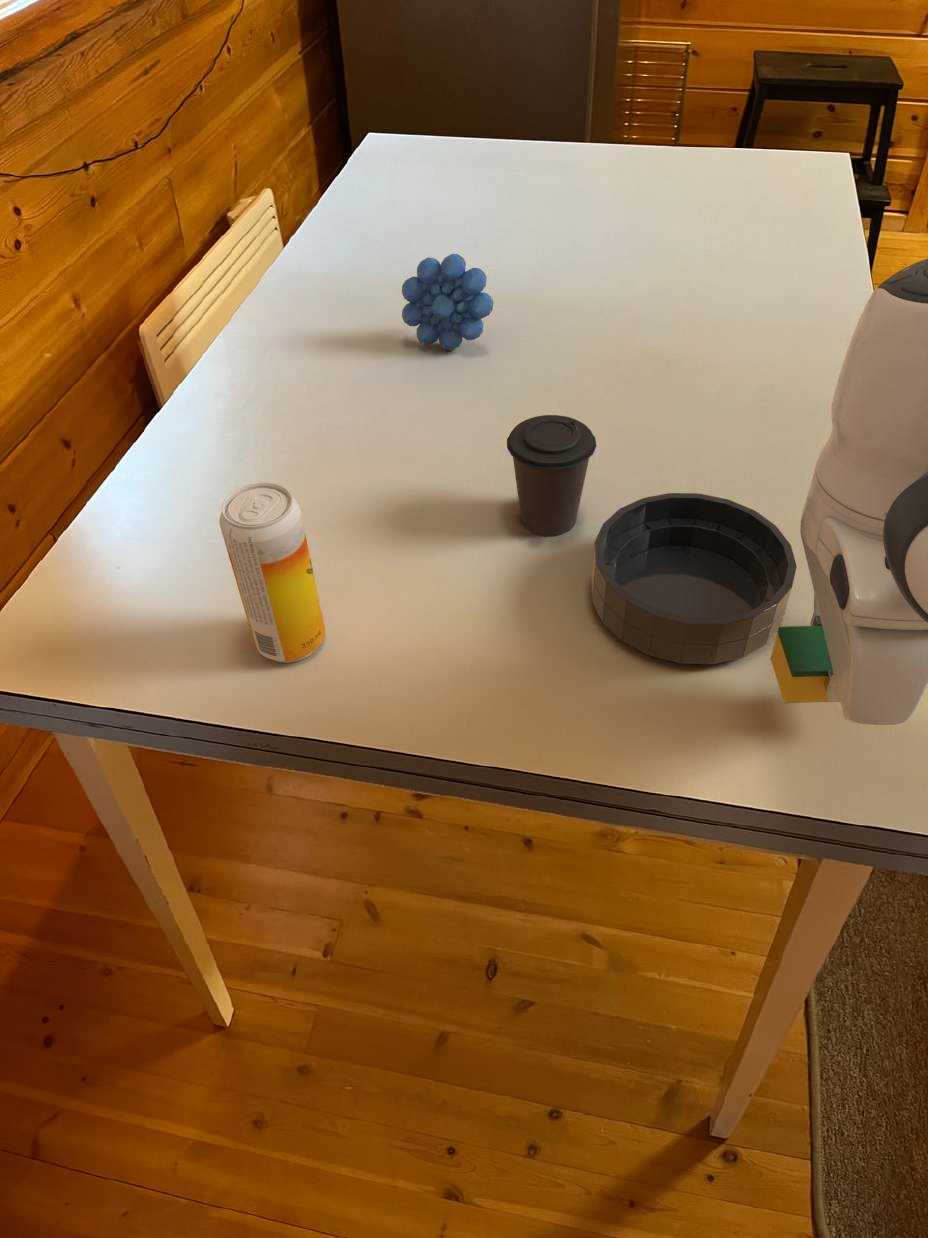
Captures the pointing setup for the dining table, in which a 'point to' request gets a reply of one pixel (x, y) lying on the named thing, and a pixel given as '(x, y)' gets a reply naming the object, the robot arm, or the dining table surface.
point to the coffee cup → (550, 471)
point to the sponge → (801, 663)
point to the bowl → (691, 577)
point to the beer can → (273, 570)
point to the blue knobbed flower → (446, 301)
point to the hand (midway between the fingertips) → (829, 663)
